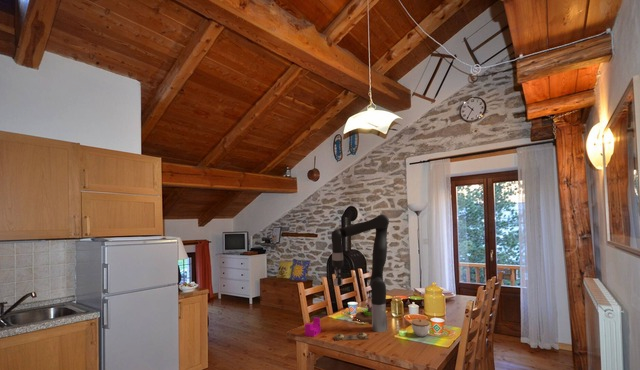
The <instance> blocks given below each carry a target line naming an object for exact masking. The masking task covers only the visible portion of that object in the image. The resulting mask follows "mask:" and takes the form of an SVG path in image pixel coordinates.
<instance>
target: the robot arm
mask: <svg viewBox="0 0 640 370" xmlns="http://www.w3.org/2000/svg"><path fill="white" fill-rule="evenodd" d="M389 224H390V218H389V217H388V216H387V215H385V214H378V215H377V216H375V217H374V218H371V219H370V220H369V219H368V220H366V221H363V222H358V223H353V224H350V225H348V226H344V227H340V228H336V229H334V230H332V232H331V245H332V248H331V249H332V251H331V253H332V255H331V265H332V267H334V276H335V278H337V280H338V285H341V279H343V276H342V269H341V268H342V267H344V253H343V252H344V250H343V244H342V243H343V241H342V239H344V238H348V237H353V236H356V235H359V234H362V233H364V232H367V231H372V230H375V236H374V242H373V247H372V260H371V261H372V265H371V266H372V268H371V275H370V281H369V286H370V288H371V298H370V299H371V300H370V301H371V306H370V307H372V323H371V327H372V328H371V329H372V331H373V332H376V333H383V332H387V331H388V315H387V308H386V303H387V302H386V301H387V286H386V283H385V281H384V277H383V275H384V268H385V265H386V261H387V255H388V254H387V253H388V238H387V235H388V228H389Z"/></svg>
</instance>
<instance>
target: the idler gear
mask: <svg viewBox="0 0 640 370" xmlns="http://www.w3.org/2000/svg"><path fill="white" fill-rule="evenodd" d="M343 280H344V279H343V278H342V279H341V285H338V280H337V278H336V277H335V278H334V279H333V286H335V287H340V286H343V285H344V284H343Z"/></svg>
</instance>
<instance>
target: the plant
mask: <svg viewBox="0 0 640 370" xmlns="http://www.w3.org/2000/svg"><path fill="white" fill-rule="evenodd" d="M364 306H367V308H364V310H362V311H359V312H356V313H355V317H356V319H358V320H360V321H361V322H364V324H366V323H367V324H372V306H370V304H369V303H367V302H366V303H364ZM355 317H354V318H355ZM356 319H355V320H356ZM360 321H359V322H360ZM361 322H360V323H361Z"/></svg>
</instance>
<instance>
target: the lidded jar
mask: <svg viewBox="0 0 640 370" xmlns="http://www.w3.org/2000/svg"><path fill="white" fill-rule="evenodd" d="M411 329H412V331H413V333H414V334H415V335H416V336H418V337H426V336H427V335H428V333H429V331H430V322H429V320H427V319H422V318H415V319H414V320H413V319H412V321H411Z"/></svg>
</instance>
